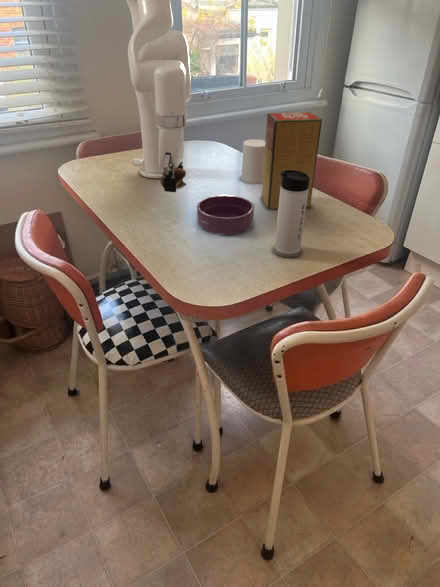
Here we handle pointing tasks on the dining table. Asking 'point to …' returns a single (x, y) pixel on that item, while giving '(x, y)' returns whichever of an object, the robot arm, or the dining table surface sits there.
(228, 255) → the dining table surface
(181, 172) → the mushroom
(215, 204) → the bowl
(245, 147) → the white cylinder
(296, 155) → the food packaging
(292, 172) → the travel mug
